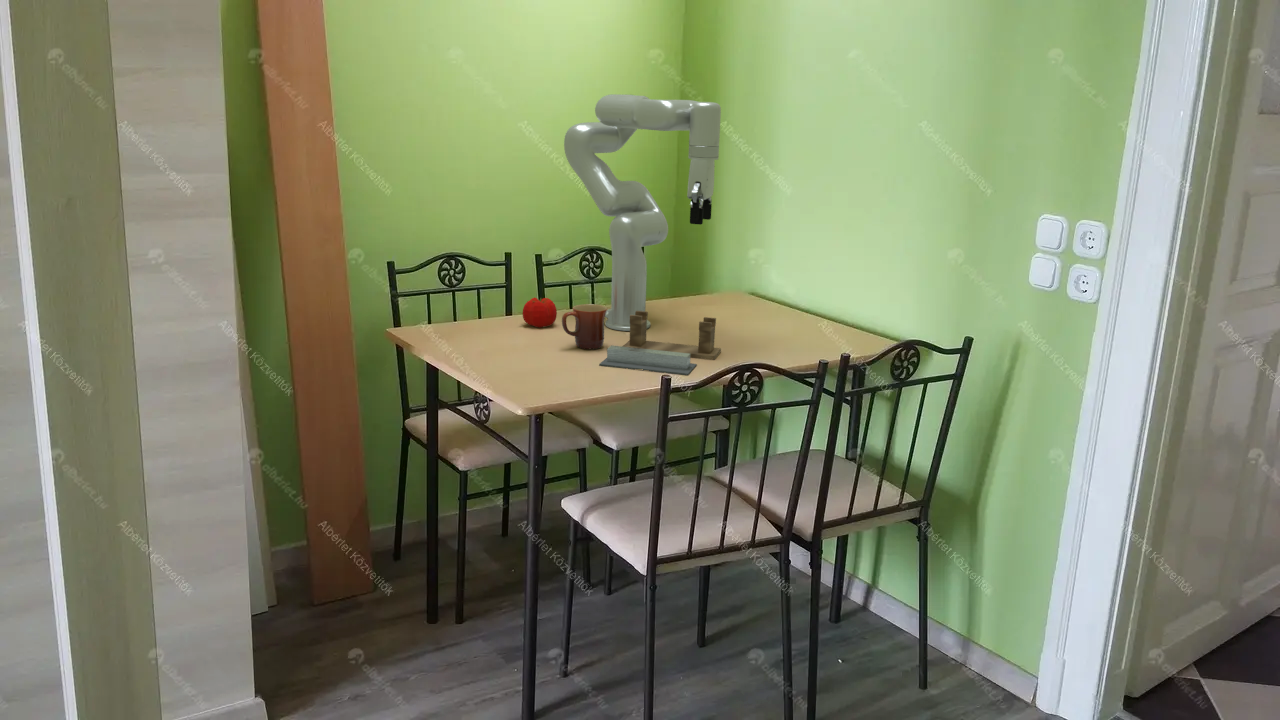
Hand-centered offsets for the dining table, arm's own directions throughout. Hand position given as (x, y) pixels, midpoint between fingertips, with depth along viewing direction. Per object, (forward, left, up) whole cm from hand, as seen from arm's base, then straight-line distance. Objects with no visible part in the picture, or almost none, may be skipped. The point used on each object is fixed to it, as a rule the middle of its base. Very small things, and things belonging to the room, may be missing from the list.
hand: (700, 221), depth 254 cm
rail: (-6, -24, -32) cm, 40 cm away
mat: (-6, -24, -32) cm, 41 cm away
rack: (-4, -9, -32) cm, 34 cm away
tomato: (-45, +3, -33) cm, 56 cm away
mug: (-26, -14, -32) cm, 44 cm away
